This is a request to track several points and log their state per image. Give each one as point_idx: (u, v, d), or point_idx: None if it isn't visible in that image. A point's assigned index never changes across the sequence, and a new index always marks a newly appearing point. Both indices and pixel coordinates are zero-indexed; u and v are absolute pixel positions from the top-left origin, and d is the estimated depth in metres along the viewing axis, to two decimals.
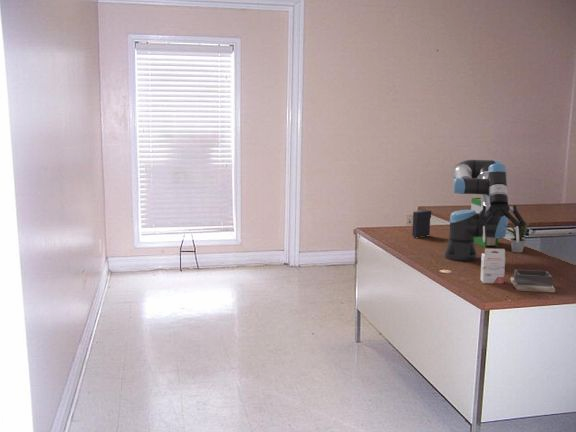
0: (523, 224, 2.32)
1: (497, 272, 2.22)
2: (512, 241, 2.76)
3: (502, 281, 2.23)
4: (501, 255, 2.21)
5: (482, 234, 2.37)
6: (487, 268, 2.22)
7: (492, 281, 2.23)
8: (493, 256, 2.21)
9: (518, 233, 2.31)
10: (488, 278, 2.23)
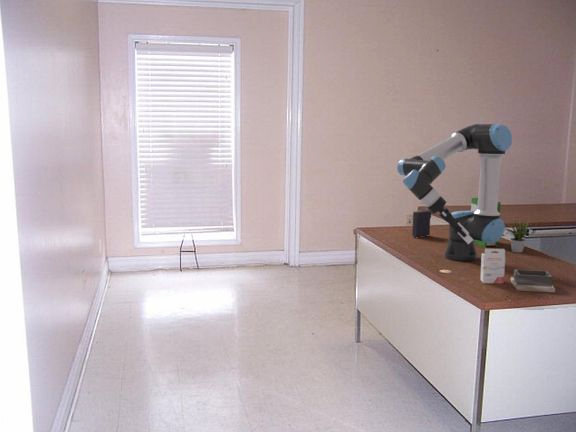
0: (456, 231, 2.16)
1: (497, 272, 2.22)
2: (512, 241, 2.76)
3: (502, 281, 2.23)
4: (501, 255, 2.21)
5: (462, 228, 2.32)
6: (487, 268, 2.22)
7: (492, 281, 2.23)
8: (493, 256, 2.21)
9: (462, 238, 2.18)
10: (488, 278, 2.23)
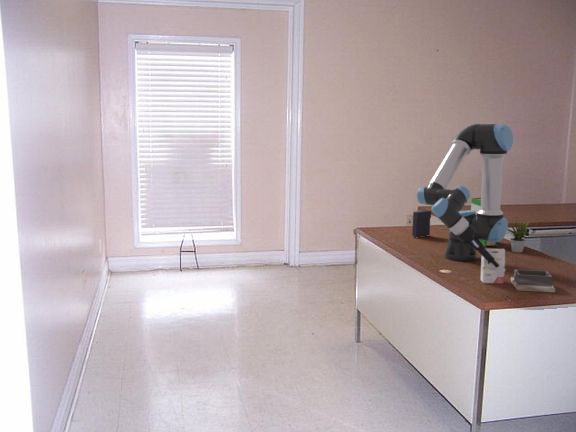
0: (488, 262, 2.19)
1: (497, 272, 2.22)
2: (512, 241, 2.76)
3: (502, 281, 2.23)
4: (501, 255, 2.21)
5: None
6: (487, 268, 2.22)
7: (492, 281, 2.23)
8: (493, 256, 2.21)
9: (495, 268, 2.21)
10: (488, 278, 2.23)
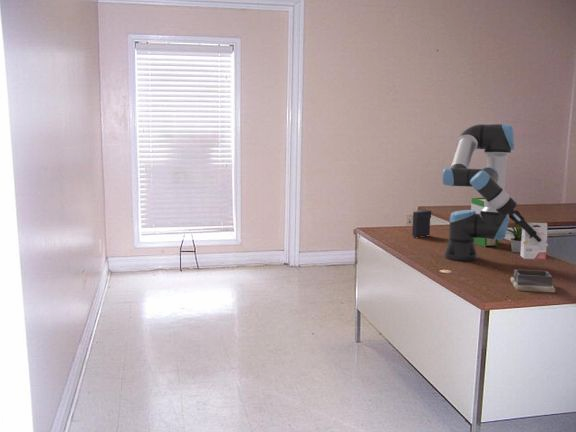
0: (530, 236, 2.11)
1: (538, 247, 2.14)
2: (512, 241, 2.76)
3: (544, 256, 2.14)
4: (543, 229, 2.13)
5: None
6: (528, 243, 2.14)
7: (533, 256, 2.15)
8: (535, 230, 2.13)
9: (537, 243, 2.13)
10: (529, 254, 2.15)
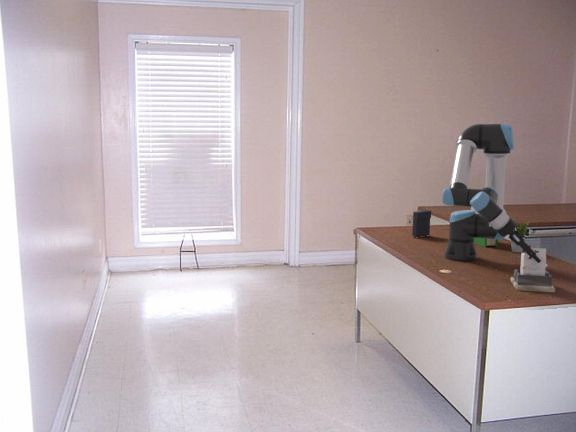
0: None
1: (537, 272, 2.16)
2: (512, 241, 2.76)
3: None
4: (542, 255, 2.15)
5: None
6: (527, 268, 2.17)
7: None
8: None
9: None
10: None
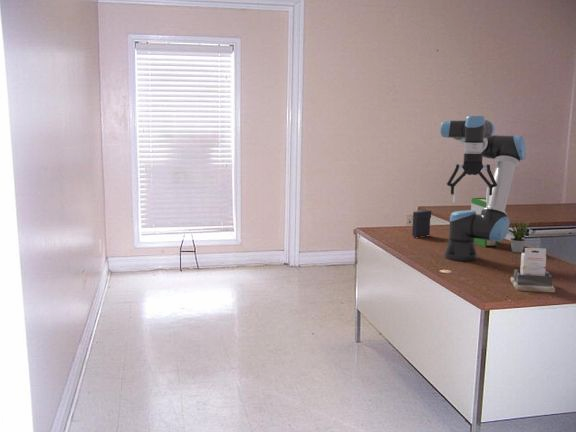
0: (495, 186, 2.27)
1: (537, 272, 2.16)
2: (512, 241, 2.76)
3: None
4: (542, 255, 2.15)
5: None
6: (527, 268, 2.17)
7: None
8: (534, 256, 2.15)
9: (488, 196, 2.28)
10: None
